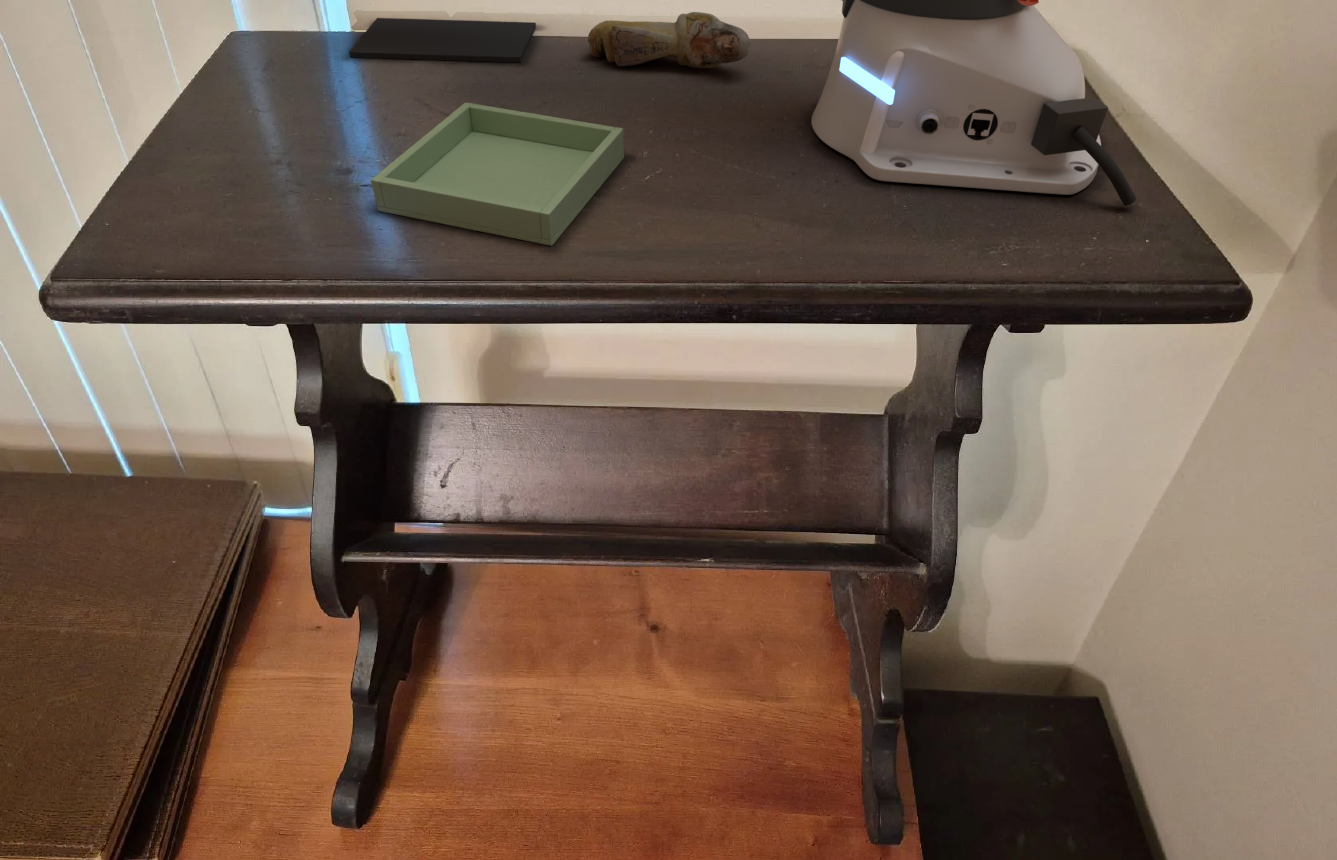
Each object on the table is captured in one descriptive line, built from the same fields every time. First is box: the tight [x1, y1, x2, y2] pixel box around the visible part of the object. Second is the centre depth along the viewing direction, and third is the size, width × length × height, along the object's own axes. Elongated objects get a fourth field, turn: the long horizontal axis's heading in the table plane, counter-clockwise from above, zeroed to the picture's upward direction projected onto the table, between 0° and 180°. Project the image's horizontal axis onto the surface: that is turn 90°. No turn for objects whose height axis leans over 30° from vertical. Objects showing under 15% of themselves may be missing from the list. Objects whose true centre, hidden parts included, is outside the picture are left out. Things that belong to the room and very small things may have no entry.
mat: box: [348, 17, 537, 63], centre depth 84 cm, size 16×9×1 cm, turn 87°
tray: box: [370, 102, 625, 247], centre depth 64 cm, size 13×13×2 cm
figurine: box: [587, 11, 751, 69], centre depth 79 cm, size 5×5×15 cm
